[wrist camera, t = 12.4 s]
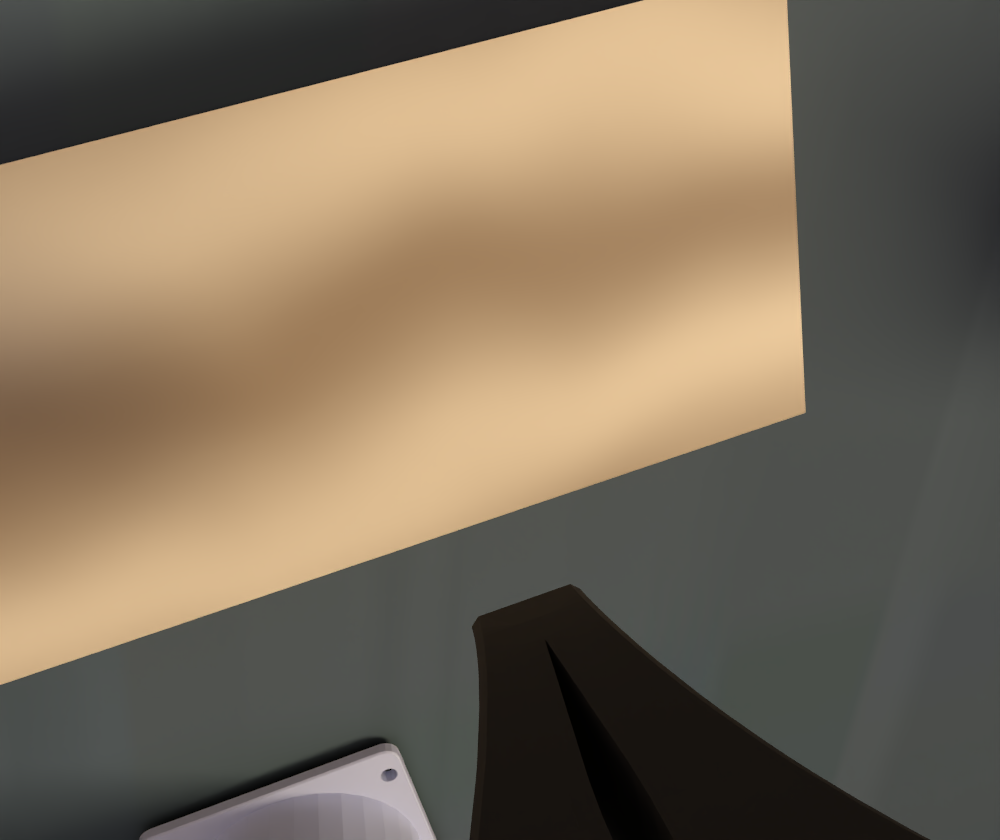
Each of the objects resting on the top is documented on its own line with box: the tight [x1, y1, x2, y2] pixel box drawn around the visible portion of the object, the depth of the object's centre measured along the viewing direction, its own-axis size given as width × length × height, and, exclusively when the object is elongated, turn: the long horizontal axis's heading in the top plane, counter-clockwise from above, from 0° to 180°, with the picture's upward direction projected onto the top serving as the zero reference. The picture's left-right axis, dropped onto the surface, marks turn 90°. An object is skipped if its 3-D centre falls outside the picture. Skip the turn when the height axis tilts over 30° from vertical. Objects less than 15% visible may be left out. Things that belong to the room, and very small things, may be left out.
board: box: [0, 0, 805, 685], centre depth 15 cm, size 9×24×4 cm, turn 103°
